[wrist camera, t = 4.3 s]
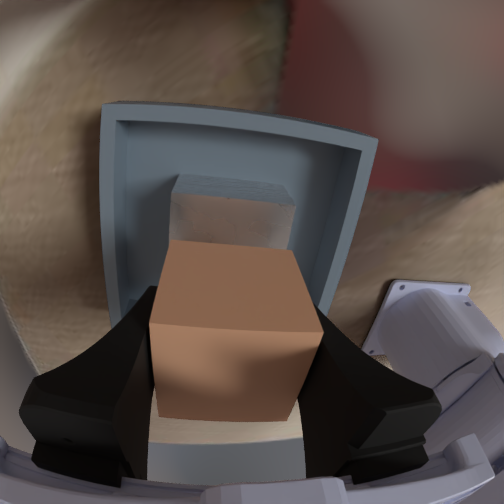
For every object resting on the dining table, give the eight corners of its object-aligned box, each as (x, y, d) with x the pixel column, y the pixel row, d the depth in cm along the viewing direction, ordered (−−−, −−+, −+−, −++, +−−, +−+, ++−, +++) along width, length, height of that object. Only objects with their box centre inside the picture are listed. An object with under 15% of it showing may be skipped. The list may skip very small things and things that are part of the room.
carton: (292, 250, 14) (323, 332, 9) (270, 337, 16) (286, 420, 12) (170, 239, 13) (149, 322, 8) (170, 331, 15) (158, 416, 11)
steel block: (283, 184, 19) (296, 205, 16) (266, 272, 21) (273, 304, 18) (179, 173, 18) (171, 192, 15) (174, 264, 21) (167, 296, 17)
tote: (356, 130, 18) (378, 139, 15) (307, 316, 24) (316, 343, 22) (119, 100, 16) (102, 104, 13) (121, 302, 22) (111, 329, 20)
